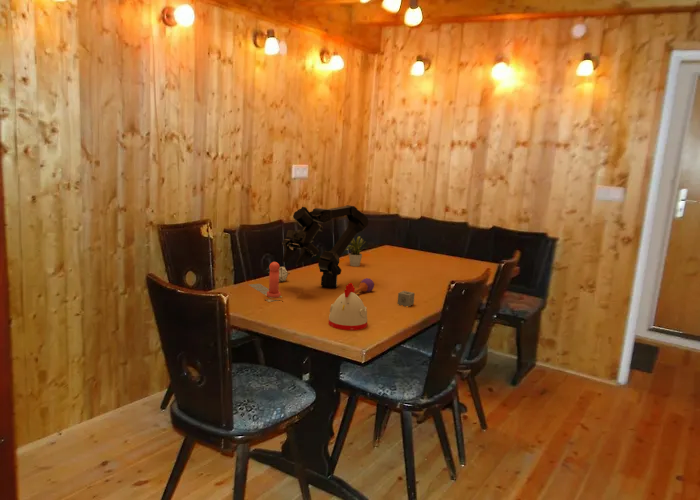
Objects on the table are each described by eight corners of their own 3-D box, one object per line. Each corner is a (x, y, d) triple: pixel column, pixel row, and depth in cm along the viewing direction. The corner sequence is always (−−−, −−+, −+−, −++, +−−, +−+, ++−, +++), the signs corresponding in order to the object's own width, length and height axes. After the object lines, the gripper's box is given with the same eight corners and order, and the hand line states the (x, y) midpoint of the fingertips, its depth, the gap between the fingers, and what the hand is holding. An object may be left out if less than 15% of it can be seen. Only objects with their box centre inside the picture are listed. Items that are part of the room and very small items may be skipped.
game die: (281, 291, 256) (285, 277, 249) (265, 283, 257) (268, 269, 250) (290, 279, 262) (294, 265, 255) (274, 271, 263) (277, 257, 256)
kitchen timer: (322, 326, 199) (324, 284, 196) (337, 316, 211) (339, 277, 209) (359, 332, 194) (362, 290, 191) (372, 322, 207) (375, 282, 204)
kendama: (340, 288, 237) (363, 277, 254) (342, 302, 238) (365, 290, 255) (352, 288, 234) (375, 276, 251) (354, 302, 235) (377, 289, 252)
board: (243, 286, 247) (243, 283, 247) (261, 284, 251) (261, 282, 251) (268, 301, 225) (268, 299, 224) (288, 299, 229) (288, 297, 229)
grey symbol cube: (408, 307, 229) (409, 295, 228) (397, 304, 232) (398, 293, 231) (413, 304, 233) (414, 292, 233) (402, 302, 236) (403, 290, 235)
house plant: (343, 261, 313) (345, 232, 310) (368, 263, 311) (370, 234, 308) (339, 266, 299) (341, 235, 296) (365, 268, 297) (367, 237, 294)
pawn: (277, 293, 234) (278, 260, 231) (282, 297, 229) (283, 263, 227) (264, 294, 232) (265, 260, 229) (269, 298, 227) (270, 263, 224)
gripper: (283, 220, 242) (264, 250, 237) (310, 223, 228) (290, 255, 224) (299, 235, 249) (281, 264, 244) (327, 239, 235) (307, 271, 230)
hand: (289, 263), depth 235 cm, fingers open, 9 cm apart
